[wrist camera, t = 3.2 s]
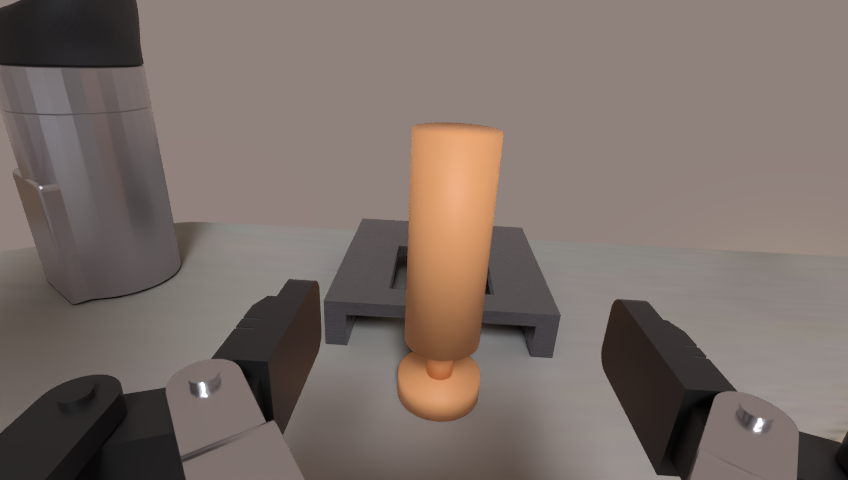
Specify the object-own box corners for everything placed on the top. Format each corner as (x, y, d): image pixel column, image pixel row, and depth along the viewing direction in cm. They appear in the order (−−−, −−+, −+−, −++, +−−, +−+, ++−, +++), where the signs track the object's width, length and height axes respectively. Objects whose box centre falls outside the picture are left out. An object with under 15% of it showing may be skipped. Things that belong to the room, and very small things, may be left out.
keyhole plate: (552, 357, 31) (560, 315, 30) (325, 343, 32) (323, 300, 30) (517, 259, 46) (521, 227, 45) (363, 250, 46) (362, 218, 45)
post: (448, 435, 25) (475, 144, 18) (380, 393, 27) (384, 127, 21) (492, 387, 28) (527, 131, 22) (429, 354, 31) (444, 118, 25)
